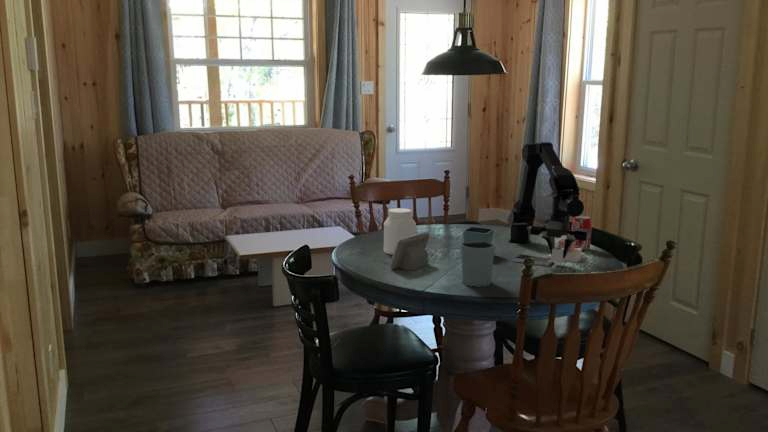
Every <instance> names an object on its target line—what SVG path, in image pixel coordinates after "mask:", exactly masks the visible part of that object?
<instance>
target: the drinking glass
mask: <svg viewBox="0 0 768 432" xmlns="http://www.w3.org/2000/svg"><path fill="white" fill-rule="evenodd" d="M460 246H461V247H460V249H461V265H462V268H461V274H462V277H461V278H462V284H463V285H465V286H469V287H472V286H475V287H474V288H482V287H481V286H484V287H488V286H490V285H491V284H492V274H493V265H494V256H495V250H496V245H495V243H493V242H491V243H490V242H485V241H466V242H464V241H463V242H461V243H460ZM487 285H488V286H487Z"/></svg>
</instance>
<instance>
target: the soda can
mask: <svg viewBox="0 0 768 432" xmlns="http://www.w3.org/2000/svg"><path fill="white" fill-rule="evenodd" d="M572 218H573V219H572V221H571V226H570V230H573V231H575V230H577V229H578V228H580V229H589V230H590V233H591V234H590V238H589V239H588V240H587V241H582V240H575V248H581V249H582V250H584V251H587V250H588V249H590V248H591V238H592V220H591V216H590V215H589V216H588V215H584V214H583V215H582V214H581V215H580V216H578V217H572Z"/></svg>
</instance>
